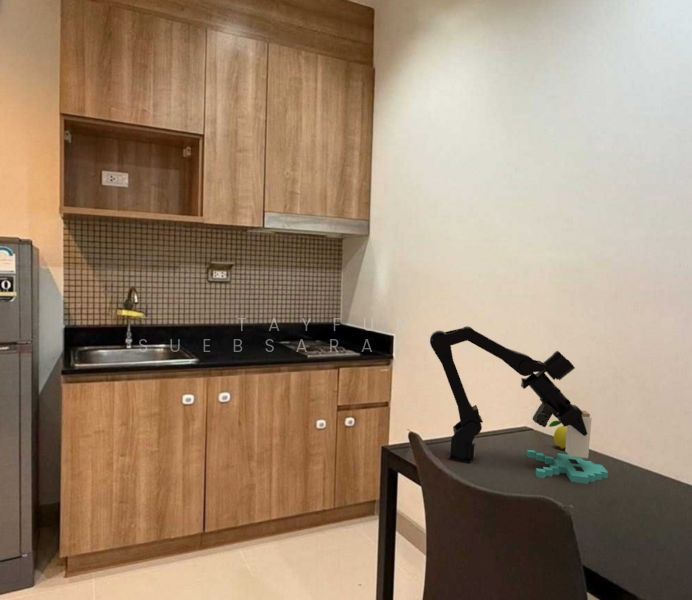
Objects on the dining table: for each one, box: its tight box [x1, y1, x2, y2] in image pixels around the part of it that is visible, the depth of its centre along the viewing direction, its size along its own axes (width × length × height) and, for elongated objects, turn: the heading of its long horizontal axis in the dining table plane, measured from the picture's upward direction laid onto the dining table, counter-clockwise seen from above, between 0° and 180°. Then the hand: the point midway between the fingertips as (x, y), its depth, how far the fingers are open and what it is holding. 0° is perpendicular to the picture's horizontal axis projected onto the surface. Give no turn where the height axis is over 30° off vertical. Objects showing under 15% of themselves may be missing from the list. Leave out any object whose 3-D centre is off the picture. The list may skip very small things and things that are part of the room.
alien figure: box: [526, 449, 609, 485], centre depth 154 cm, size 20×2×20 cm
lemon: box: [548, 420, 567, 450], centre depth 175 cm, size 7×6×10 cm
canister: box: [564, 409, 593, 459], centre depth 153 cm, size 5×5×12 cm
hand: (583, 432), depth 152 cm, fingers closed on canister, 5 cm apart
